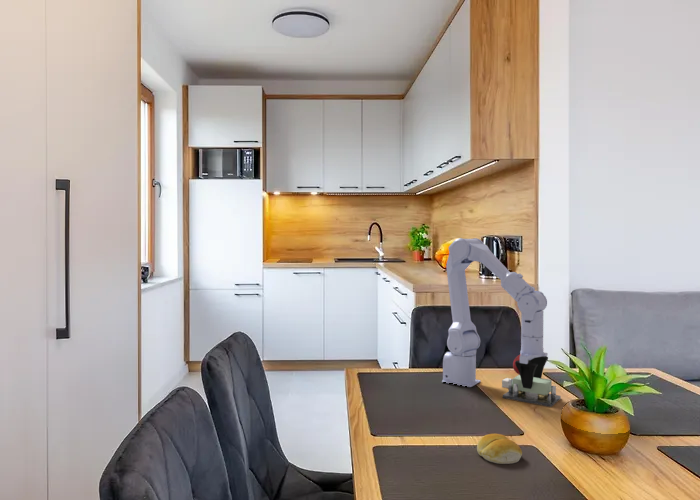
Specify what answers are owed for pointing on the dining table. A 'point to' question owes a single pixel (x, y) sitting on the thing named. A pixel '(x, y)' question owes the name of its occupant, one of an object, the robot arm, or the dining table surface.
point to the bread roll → (499, 449)
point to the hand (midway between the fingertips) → (531, 384)
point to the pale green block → (535, 385)
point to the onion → (515, 365)
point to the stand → (505, 382)
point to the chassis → (531, 396)
